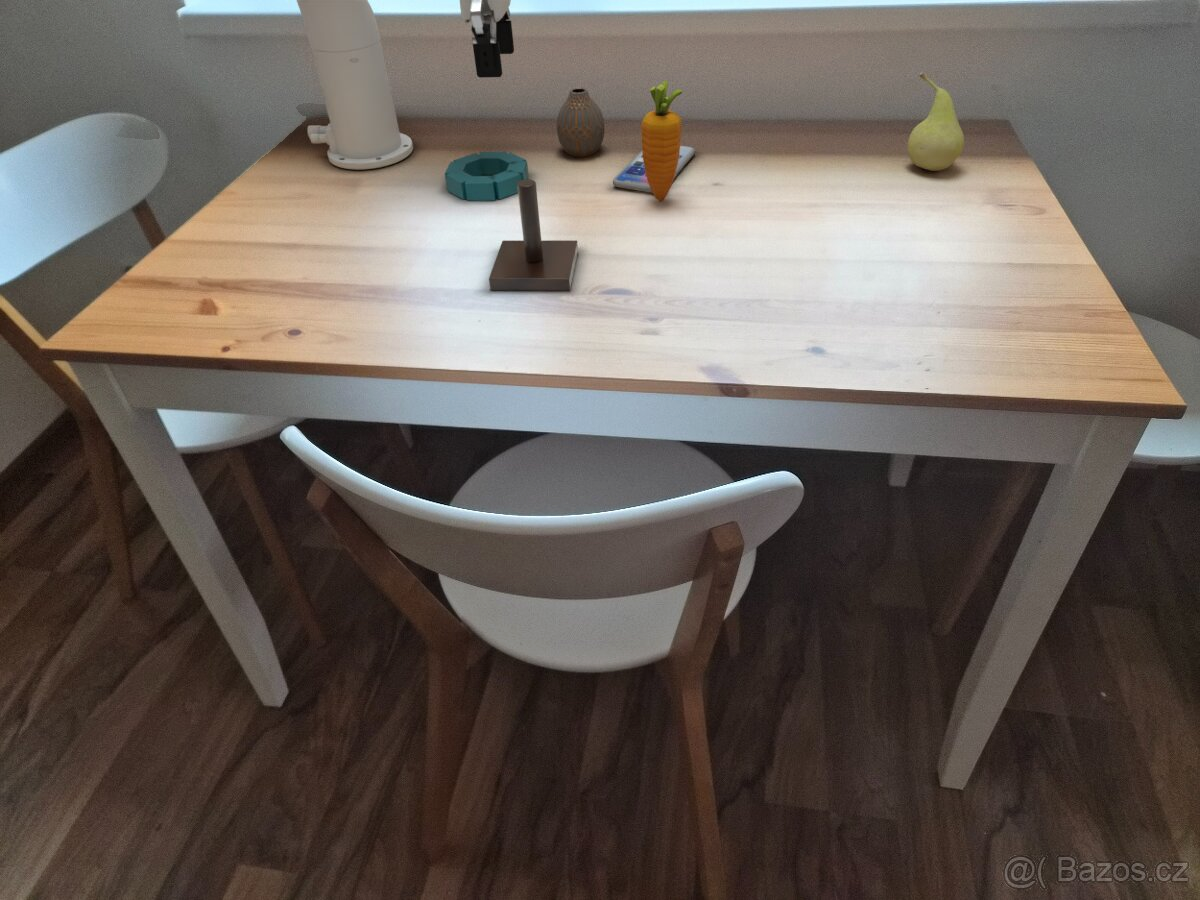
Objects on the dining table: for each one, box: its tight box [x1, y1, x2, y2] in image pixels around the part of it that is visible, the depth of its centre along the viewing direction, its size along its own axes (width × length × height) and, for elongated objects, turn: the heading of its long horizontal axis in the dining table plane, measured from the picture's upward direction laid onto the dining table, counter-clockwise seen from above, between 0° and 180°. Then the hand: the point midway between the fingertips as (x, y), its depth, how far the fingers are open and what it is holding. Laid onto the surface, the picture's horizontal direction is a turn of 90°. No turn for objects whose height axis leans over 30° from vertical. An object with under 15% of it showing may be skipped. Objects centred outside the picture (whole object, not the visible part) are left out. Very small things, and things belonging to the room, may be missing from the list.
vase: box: [556, 87, 605, 158], centre depth 116 cm, size 7×7×9 cm
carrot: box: [640, 80, 683, 203], centre depth 100 cm, size 5×5×15 cm
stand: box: [488, 178, 579, 292], centre depth 90 cm, size 9×9×10 cm
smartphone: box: [612, 145, 696, 194], centre depth 113 cm, size 7×1×15 cm
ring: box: [444, 151, 530, 202], centre depth 111 cm, size 11×11×2 cm
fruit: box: [906, 71, 965, 172], centre depth 106 cm, size 7×8×12 cm
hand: (496, 64), depth 106 cm, fingers open, 9 cm apart
